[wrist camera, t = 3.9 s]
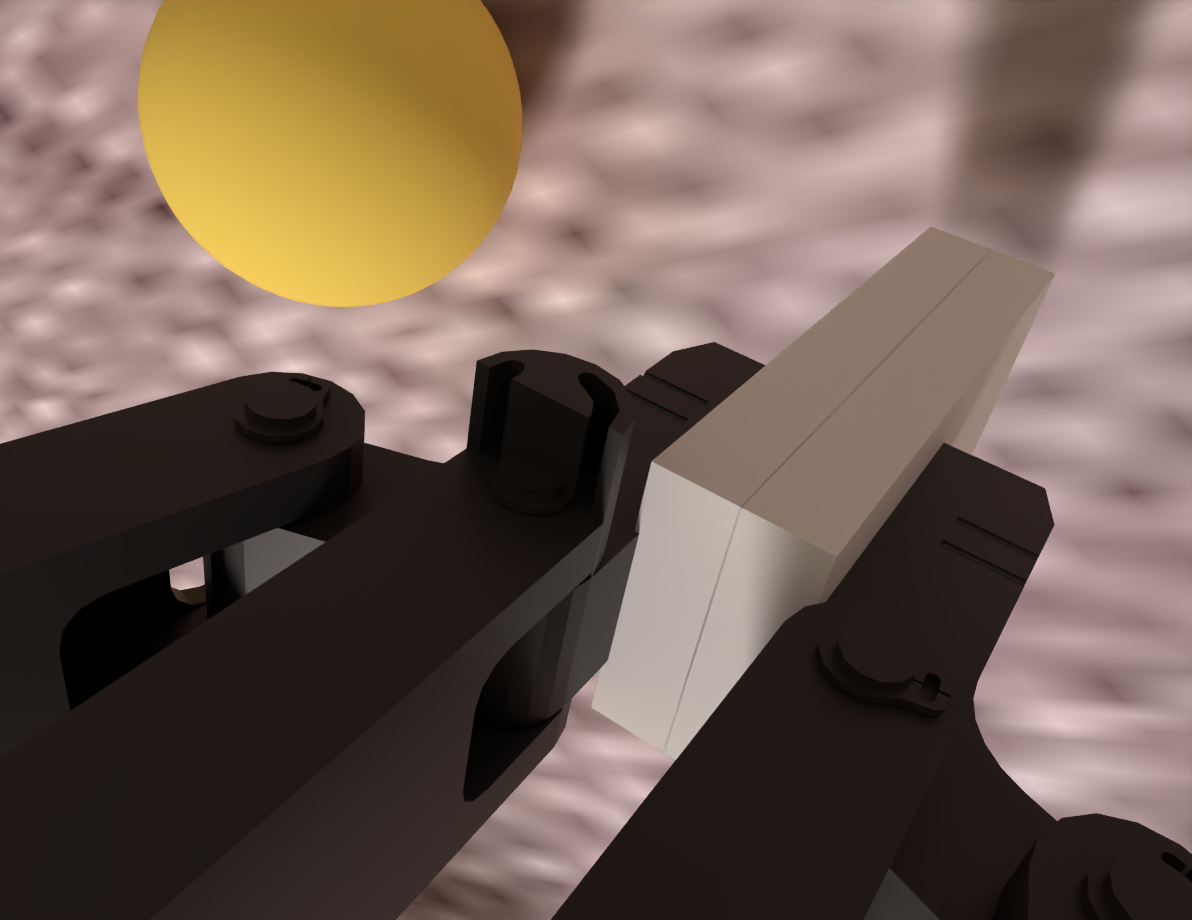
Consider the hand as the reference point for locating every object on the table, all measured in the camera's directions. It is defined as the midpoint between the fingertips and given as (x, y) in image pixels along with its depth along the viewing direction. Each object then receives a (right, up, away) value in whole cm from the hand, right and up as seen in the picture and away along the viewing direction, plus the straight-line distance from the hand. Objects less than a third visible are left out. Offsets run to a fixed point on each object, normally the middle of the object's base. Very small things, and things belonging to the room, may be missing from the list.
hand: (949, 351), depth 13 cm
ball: (-8, +4, +3) cm, 9 cm away
